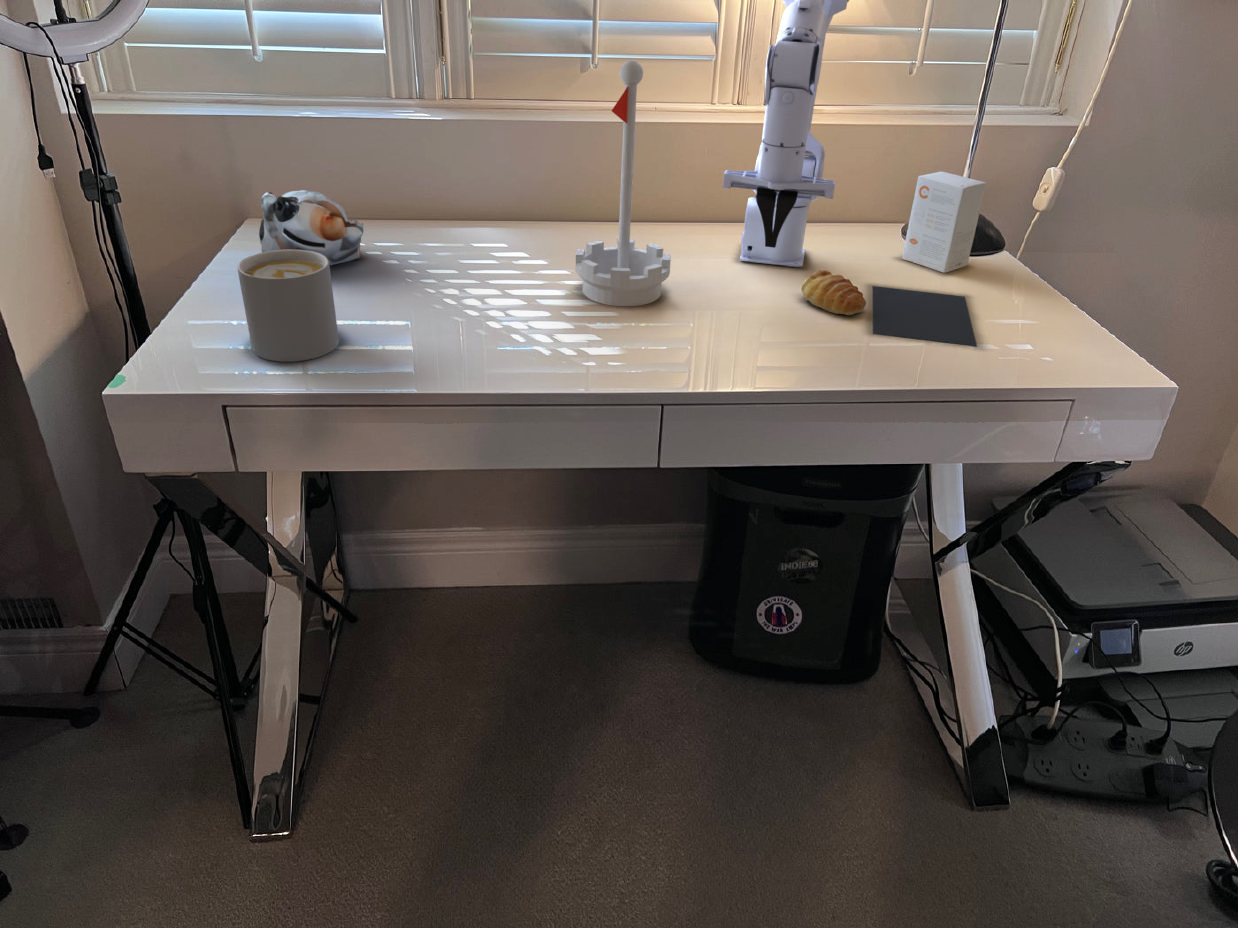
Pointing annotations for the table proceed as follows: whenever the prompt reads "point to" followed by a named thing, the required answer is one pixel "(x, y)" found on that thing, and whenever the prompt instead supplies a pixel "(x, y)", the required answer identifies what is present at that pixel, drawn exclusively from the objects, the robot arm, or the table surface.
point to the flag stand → (624, 229)
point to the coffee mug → (289, 304)
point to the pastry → (833, 293)
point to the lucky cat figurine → (309, 226)
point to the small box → (943, 221)
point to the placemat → (922, 316)
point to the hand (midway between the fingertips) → (770, 245)
